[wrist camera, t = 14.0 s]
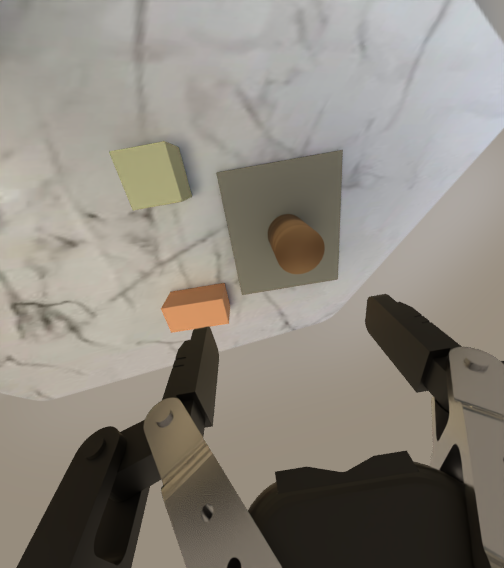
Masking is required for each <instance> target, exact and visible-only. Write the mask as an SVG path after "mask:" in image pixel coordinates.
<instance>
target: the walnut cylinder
mask: <svg viewBox="0 0 504 568" xmlns="http://www.w3.org/2000/svg"><path fill="white" fill-rule="evenodd" d="M268 240H269V243H270V245H271V247H272V250H273V252H274V254H275V257H276V259H277V261H278V263H279V265H280V267H281V268H282V269H283V270H285V271H286V272H288V273H291V274H304V273H307V272H309V271H311V270H313V269H314V268H315V267H316V266H317V265H318V264H319V263H320V261H321V260H322V258H323V255H324V251H325V245H324V241H323V239H322V237H321V236H320V234H319V233H317V232H316V231H315V230H314V229H312V228H311V227H310V226H309V225H307V224H306V223H305V222H304V221H302V220H301V219H300V218H298V217H297V216H295V215H292V214H284V215H281V216H279V217H277V218H276V219H274V220H273V221H272V223H271V224H270V226H269V229H268Z"/></svg>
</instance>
